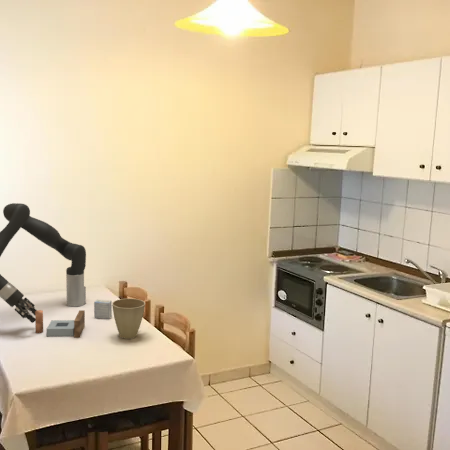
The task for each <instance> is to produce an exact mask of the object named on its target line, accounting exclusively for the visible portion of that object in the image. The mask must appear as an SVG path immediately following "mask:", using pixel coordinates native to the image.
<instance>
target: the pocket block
mask: <svg viewBox="0 0 450 450" xmlns="http://www.w3.org/2000/svg"><path fill="white" fill-rule="evenodd" d="M74 320H75V319H74ZM74 320H73V319H72V320H71V319H70V320H69V319H68V320H67V319H64V320H63V319H62V320H60V319H59V320H58V319H57V320H51V321H50V322H49V323H48V326H47V328H46V337H49V338H50V337H52V338H53V337H56V338H57V337H60V338H61V337H64V338H65V337H74Z"/></svg>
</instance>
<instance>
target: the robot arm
mask: <svg viewBox="0 0 450 450" xmlns="http://www.w3.org/2000/svg"><path fill="white" fill-rule="evenodd" d="M2 211H3V212H2V213H3V216H4V218H5V220H7V221H8V223H7V224H6V226H5V227H4V228H3V229H2V230H1V231H0V258H1V256H2V255H3V253H4V251H5V250H6V248H7V246H8V245H9V244H10V242H11V240H13V238H14V237H15V235H16V234H17V233H18V231H20V229H23V230H25V232H27V233H28V234H30V235H31V236H32V237H34V238H36V239H37V240H39V241H40V242H41V243H42V244H45V245H47V246H48V247H49V248H52V249H53V250H55V251H57V252H58V253H59V254H60V255H61V256H62V257H64V259H66V260H68V261H71V262H70V263H71V264H70V266H69V267H67V268H66V269H65V271H66V275H65V276H66V278H65V279H66V283H65V284H66V306H68V307H81V306H84V305H86V304H87V293H86V291H87V289H86V285H85V269H86V265H87V264H86V263H87V262H86V261H87V252H86V248H85V247H84V245H82V244H77V243H74V242H73V243H72V242H70V241H68V240H67V239H65V238H64V237H62V236H61V234H60V233H59V231H58V230H57V229H56V228H55V227H53V226H52V225H50V224H49V223H47V222H45V221H44V220H40V219H38V218H35V217H32V216H30V215H31V210H30V208H29V206H28V205H27V204H25V203H18V202H17V203H14V202H13V203H9V204H7V205H5V206H4V207H3V210H2ZM0 298H1V299H2V300H3V301H4V302H5V303H6V304H7V305H8V306H9V307H11V308H13V307H15V308H14V311H15V312H16V313H17V314H18V315H19V316H21V318H22V319H27V320H28V321H29V322H30V323H31V324H33V323H35V320H36V319H35V311H37V310H38V309H36V307H35V304H34V303H33V302H32V301H31V300H30V299H28V298H27V297H24V294H23V293H22V292H21V290H19V289H18V288H17V287H16V286H15V285H14V284H12V283H11V282H9V281H8V279H6V278H5V277H4V276H3V275H2V274H1V273H0ZM30 312H31V313H30ZM33 315H34V316H33Z"/></svg>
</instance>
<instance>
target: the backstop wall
mask: <svg viewBox="0 0 450 450" xmlns="http://www.w3.org/2000/svg"><path fill="white" fill-rule="evenodd" d="M85 316H86V315H85V310H79V311H78V312H77V315H76V316H75V319H74V336H73V337H74V339H75V338H81V336H82V334H83V331H84V329H85V327H86V325H85V324H86V323H85V322H86V320H85V319H86V317H85Z"/></svg>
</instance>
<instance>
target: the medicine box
mask: <svg viewBox="0 0 450 450" xmlns="http://www.w3.org/2000/svg"><path fill="white" fill-rule="evenodd" d="M112 303H113V302H112V300H110V299H108V300H107V299H96V300H95V301H94V303H93V311H94V319H104V320H110V319H111V318H112V317H113V312H112V311H113V306H112Z"/></svg>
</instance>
